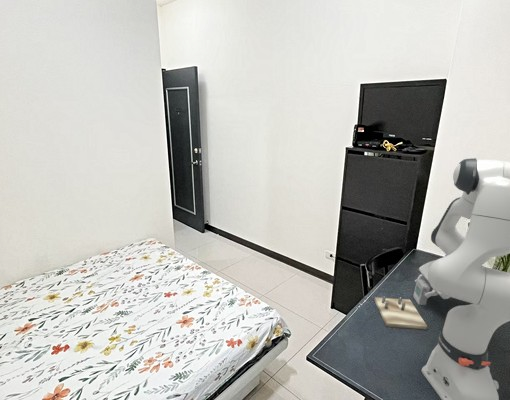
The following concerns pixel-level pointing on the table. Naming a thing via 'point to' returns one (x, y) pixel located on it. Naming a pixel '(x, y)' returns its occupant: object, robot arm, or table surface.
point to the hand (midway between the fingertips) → (420, 289)
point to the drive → (421, 292)
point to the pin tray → (399, 313)
